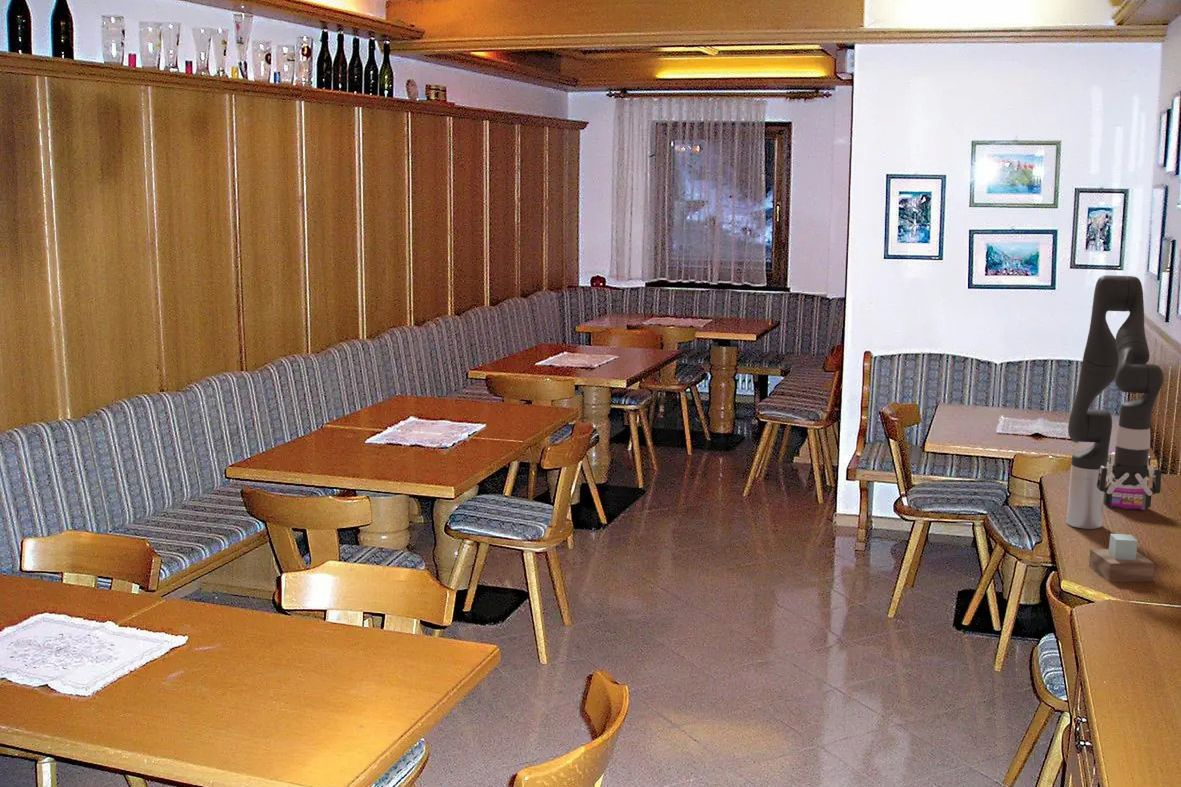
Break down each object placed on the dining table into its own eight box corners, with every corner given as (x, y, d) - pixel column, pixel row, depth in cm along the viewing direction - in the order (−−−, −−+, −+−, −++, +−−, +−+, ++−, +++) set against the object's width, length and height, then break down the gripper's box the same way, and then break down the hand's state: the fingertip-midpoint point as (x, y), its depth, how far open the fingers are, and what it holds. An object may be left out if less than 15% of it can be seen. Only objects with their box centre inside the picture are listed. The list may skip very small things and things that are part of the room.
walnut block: (1088, 568, 305) (1090, 549, 304) (1131, 567, 305) (1133, 548, 304) (1108, 583, 294) (1110, 563, 293) (1152, 582, 294) (1154, 563, 293)
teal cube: (1108, 552, 301) (1110, 533, 300) (1129, 553, 300) (1131, 534, 299) (1114, 559, 296) (1116, 539, 295) (1135, 560, 295) (1137, 540, 294)
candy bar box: (1145, 506, 358) (1150, 453, 355) (1146, 511, 354) (1151, 457, 350) (1104, 502, 362) (1109, 449, 359) (1105, 507, 358) (1110, 453, 355)
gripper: (1158, 442, 295) (1152, 505, 299) (1097, 439, 297) (1092, 502, 301) (1168, 449, 288) (1161, 514, 291) (1106, 447, 290) (1100, 511, 293)
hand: (1126, 508), depth 296 cm, fingers open, 8 cm apart
